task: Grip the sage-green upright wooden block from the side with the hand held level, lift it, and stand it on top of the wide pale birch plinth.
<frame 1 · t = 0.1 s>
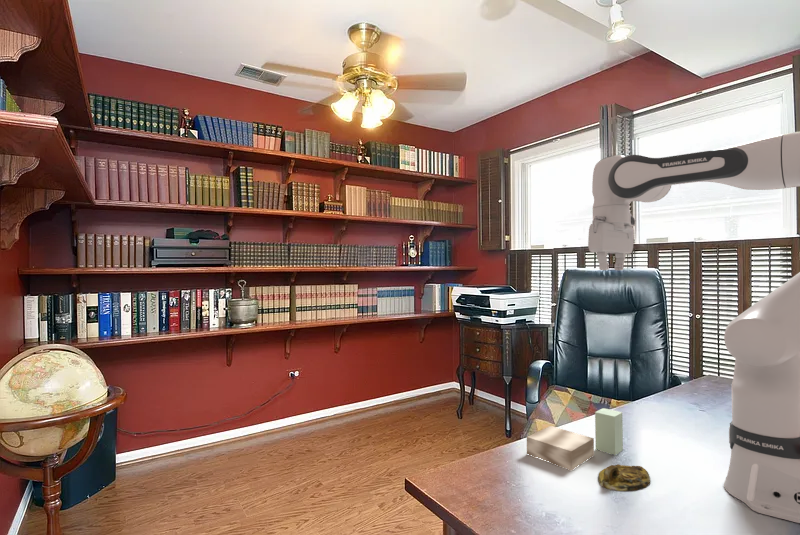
hand: (611, 270, 113), 48 cm above the table, tool pointing down, fingers open, 8 cm apart
plinth: (560, 457, 109), on the table
green block: (609, 449, 113), on the table
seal: (624, 481, 97), on the table
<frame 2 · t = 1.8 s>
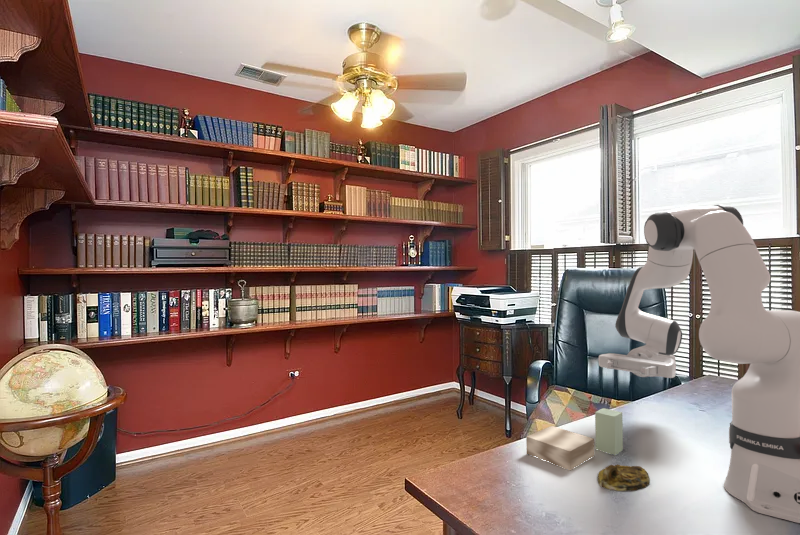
hand: (625, 368, 121), 20 cm above the table, tool horizontal, fingers open, 8 cm apart
nothing on the table moved.
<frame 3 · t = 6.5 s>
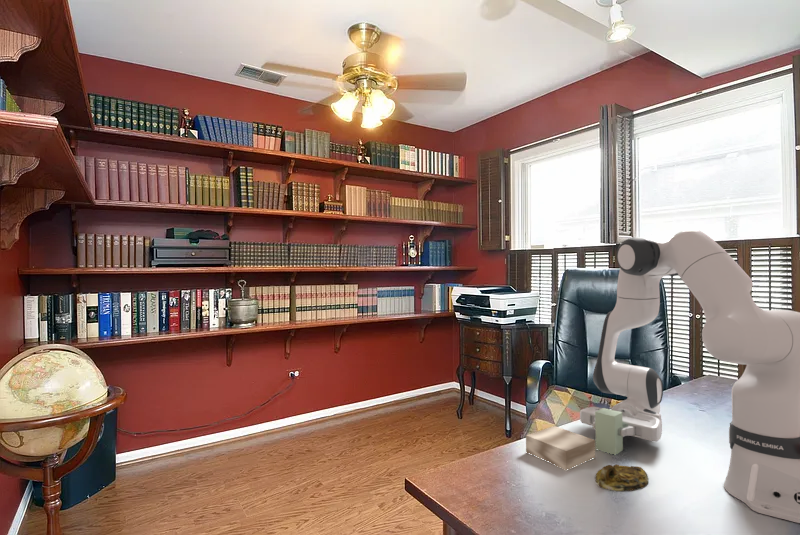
hand: (607, 429, 112), 6 cm above the table, tool horizontal, fingers closed on green block, 5 cm apart
green block: (609, 449, 113), on the table, touching gripper
everything else where it was.
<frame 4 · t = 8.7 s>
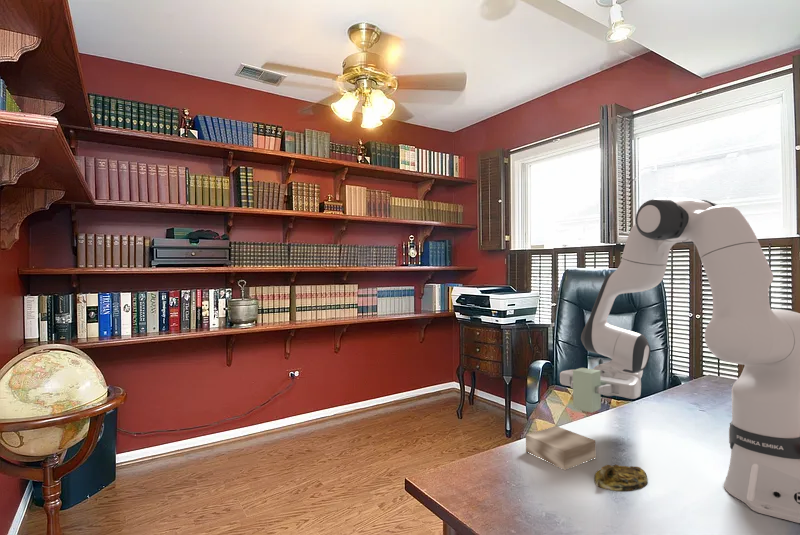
hand: (585, 388, 111), 17 cm above the table, tool horizontal, fingers closed on green block, 5 cm apart
green block: (587, 408, 112), point 11 cm above the table, touching gripper
everything else where it was.
when the fingers open (12 cm above the table, at t = 10.9 s): green block drops 2 cm, resting on plinth.
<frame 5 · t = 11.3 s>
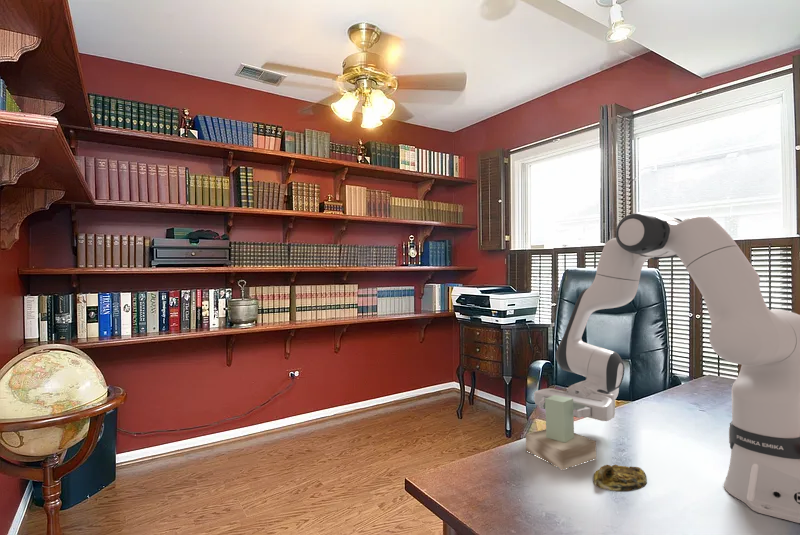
hand: (557, 409, 109), 12 cm above the table, tool horizontal, fingers open, 8 cm apart
plinth: (560, 457, 109), on the table, touching green block
green block: (560, 437, 109), point 5 cm above the table, touching plinth
everything else where it was.
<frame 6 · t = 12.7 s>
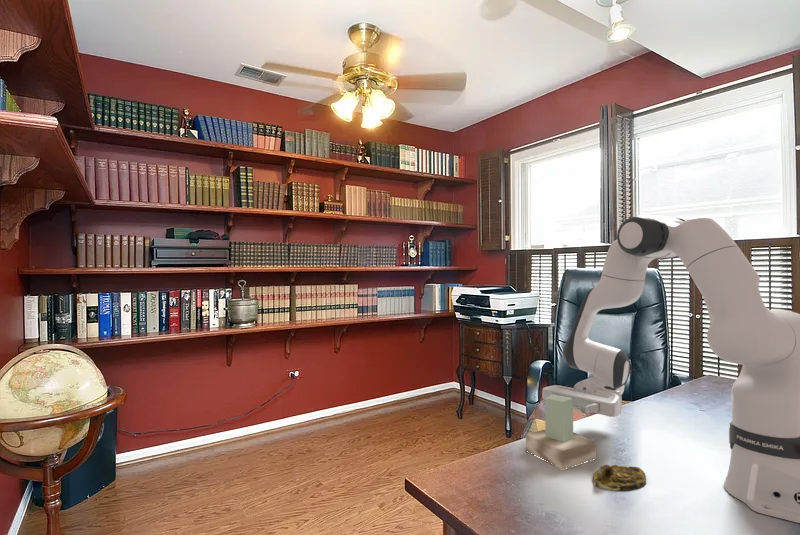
hand: (566, 405, 112), 12 cm above the table, tool horizontal, fingers open, 8 cm apart
plinth: (560, 457, 109), on the table
green block: (559, 437, 110), point 5 cm above the table
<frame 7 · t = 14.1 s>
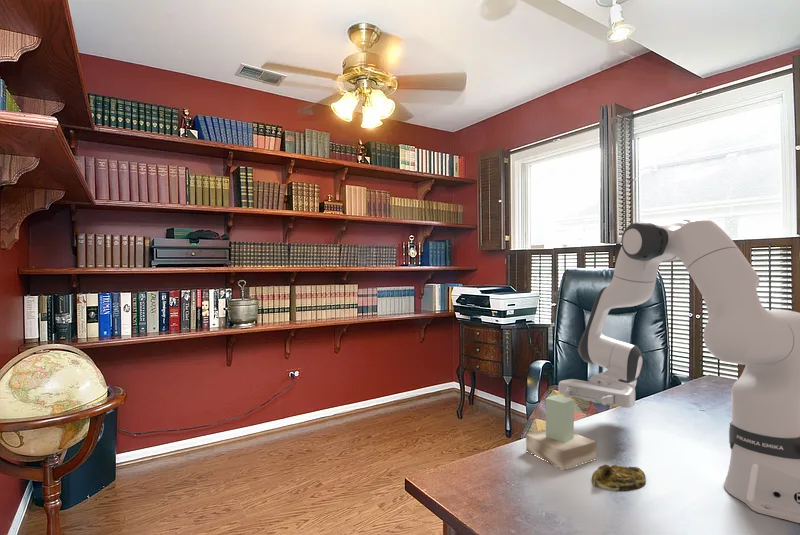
hand: (582, 397, 118), 13 cm above the table, tool horizontal, fingers open, 8 cm apart
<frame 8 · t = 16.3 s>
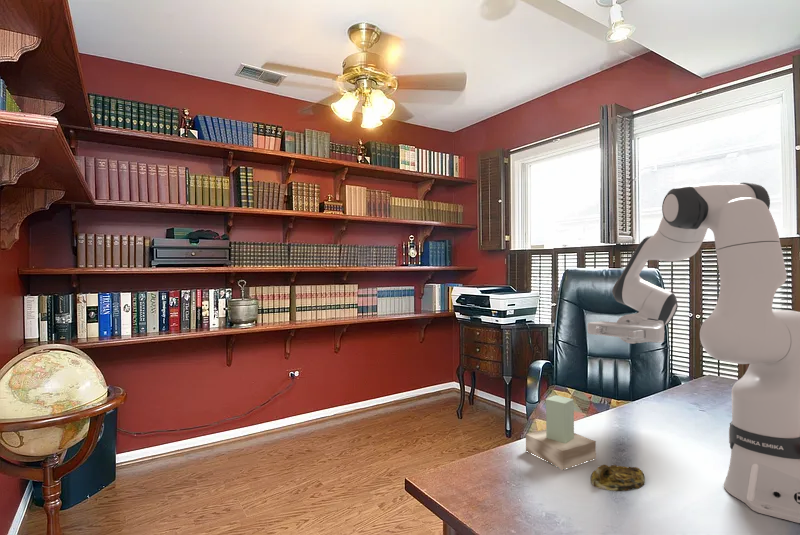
hand: (613, 333, 121), 30 cm above the table, tool horizontal, fingers open, 8 cm apart
at the end: green block inside the target area on the plinth (0.1 cm from its centre), point 5.0 cm above the plinth's base; green block tilted 0°; the gripper is holding nothing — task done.
